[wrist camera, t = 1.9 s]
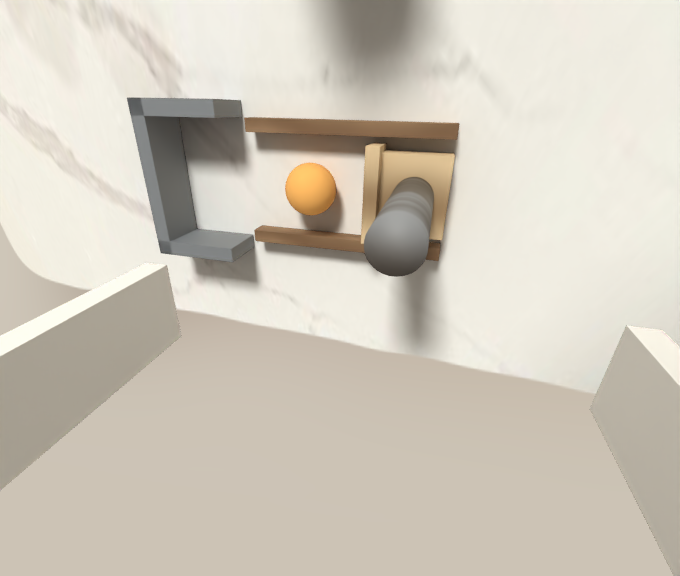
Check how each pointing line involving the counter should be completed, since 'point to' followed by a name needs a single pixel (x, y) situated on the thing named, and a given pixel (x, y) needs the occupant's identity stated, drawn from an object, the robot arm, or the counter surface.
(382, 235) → the carriage
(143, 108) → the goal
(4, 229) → the counter surface
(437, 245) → the rails
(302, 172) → the ball
